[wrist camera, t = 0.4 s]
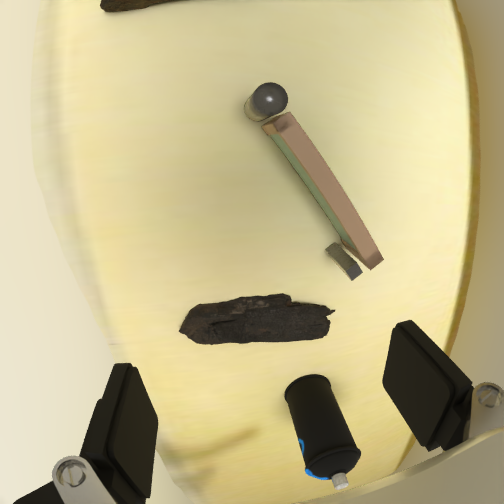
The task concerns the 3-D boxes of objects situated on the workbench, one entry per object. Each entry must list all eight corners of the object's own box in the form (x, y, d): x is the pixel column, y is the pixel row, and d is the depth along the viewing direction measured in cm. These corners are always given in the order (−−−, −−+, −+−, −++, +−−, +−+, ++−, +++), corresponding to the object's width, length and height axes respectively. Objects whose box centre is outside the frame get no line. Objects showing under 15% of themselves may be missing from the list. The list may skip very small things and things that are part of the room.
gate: (275, 116, 33) (289, 111, 26) (358, 239, 39) (383, 259, 33) (261, 126, 33) (272, 123, 26) (346, 248, 40) (370, 270, 33)
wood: (337, 290, 43) (345, 300, 40) (328, 333, 45) (335, 344, 42) (177, 290, 40) (175, 301, 37) (180, 336, 43) (178, 348, 40)
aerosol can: (311, 366, 47) (352, 467, 28) (338, 386, 50) (380, 475, 31) (274, 394, 48) (299, 495, 30) (303, 411, 51) (332, 501, 32)
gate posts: (261, 91, 32) (276, 76, 24) (347, 247, 40) (379, 275, 32) (239, 104, 32) (247, 92, 24) (329, 259, 40) (356, 290, 32)
